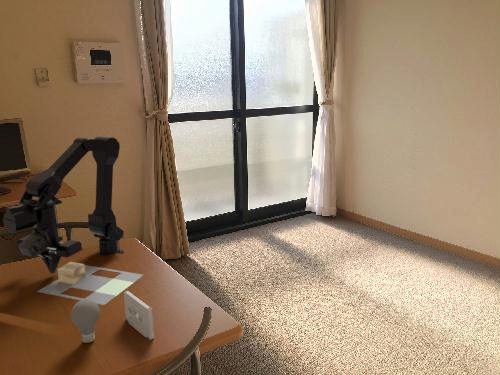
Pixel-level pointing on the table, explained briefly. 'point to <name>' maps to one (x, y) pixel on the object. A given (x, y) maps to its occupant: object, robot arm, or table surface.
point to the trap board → (95, 285)
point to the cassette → (139, 315)
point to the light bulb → (85, 318)
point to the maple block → (71, 272)
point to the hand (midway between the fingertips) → (52, 272)
